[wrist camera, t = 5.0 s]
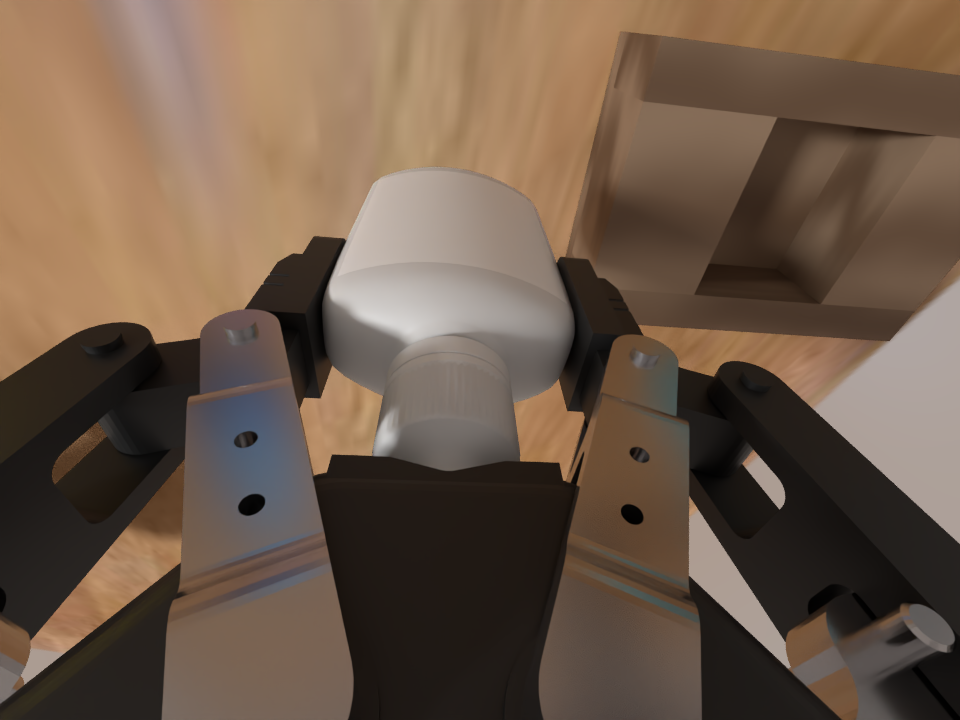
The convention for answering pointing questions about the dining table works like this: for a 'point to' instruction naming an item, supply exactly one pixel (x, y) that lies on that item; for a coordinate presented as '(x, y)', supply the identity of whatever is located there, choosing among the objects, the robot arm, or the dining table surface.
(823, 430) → the robot arm
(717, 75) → the walnut holder
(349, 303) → the eye dropper bottle
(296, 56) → the dining table surface
